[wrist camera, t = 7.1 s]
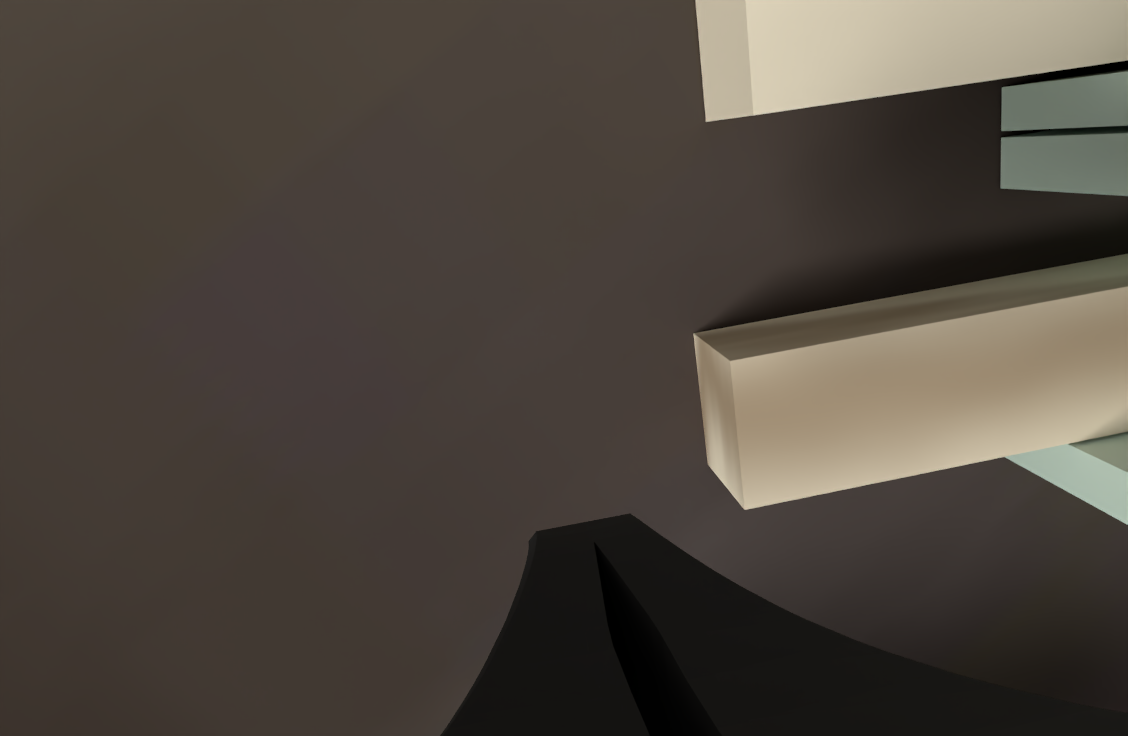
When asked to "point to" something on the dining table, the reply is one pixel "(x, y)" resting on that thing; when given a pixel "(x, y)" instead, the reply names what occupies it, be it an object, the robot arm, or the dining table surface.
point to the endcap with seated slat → (914, 55)
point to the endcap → (1092, 166)
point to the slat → (916, 382)
